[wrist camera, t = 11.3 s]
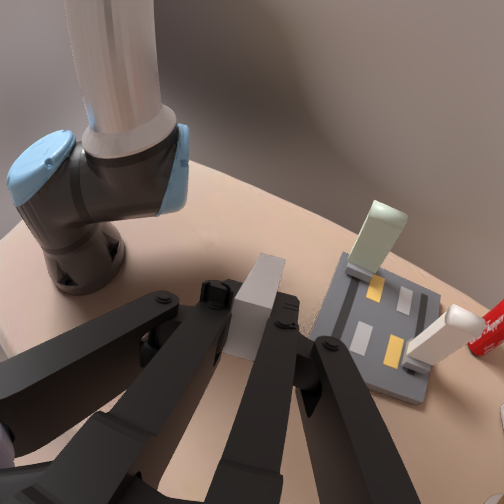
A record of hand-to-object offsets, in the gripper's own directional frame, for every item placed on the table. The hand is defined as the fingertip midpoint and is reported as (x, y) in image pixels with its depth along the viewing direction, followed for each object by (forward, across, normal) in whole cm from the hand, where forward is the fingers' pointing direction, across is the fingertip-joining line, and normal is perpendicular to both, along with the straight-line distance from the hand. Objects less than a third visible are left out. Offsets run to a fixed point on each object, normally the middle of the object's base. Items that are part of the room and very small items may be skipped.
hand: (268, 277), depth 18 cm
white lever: (+18, +23, -14) cm, 33 cm away
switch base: (+24, +18, -13) cm, 32 cm away
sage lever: (+29, +13, -6) cm, 33 cm away
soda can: (+25, +39, -13) cm, 48 cm away
